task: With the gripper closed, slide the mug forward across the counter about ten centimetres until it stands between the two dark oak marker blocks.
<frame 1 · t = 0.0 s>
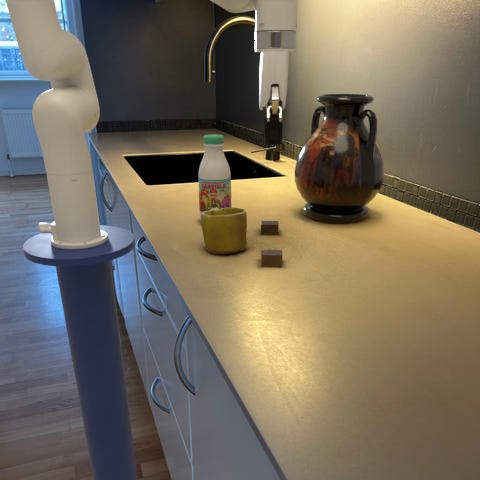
hand: (272, 140, 102), 21 cm above the worktop, tool pointing down, fingers open, 9 cm apart
marker 2: (271, 264, 99), on the worktop
milk bottle: (215, 222, 125), on the worktop
marker 1: (269, 232, 117), on the worktop
amphora vase: (335, 216, 130), on the worktop
mug: (223, 247, 108), on the worktop
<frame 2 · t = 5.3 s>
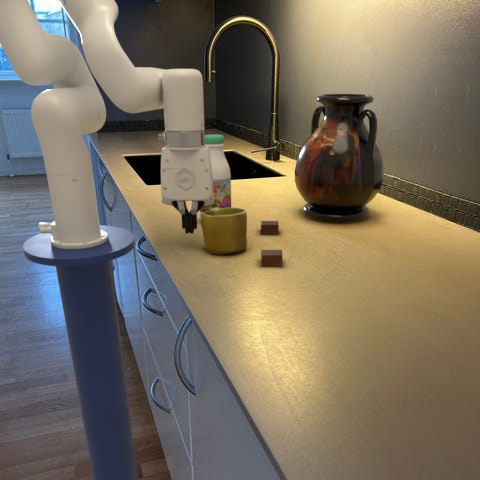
hand: (189, 231, 107), 3 cm above the worktop, tool pointing down, fingers closed
mug: (223, 247, 108), on the worktop, touching gripper
everything else where it was.
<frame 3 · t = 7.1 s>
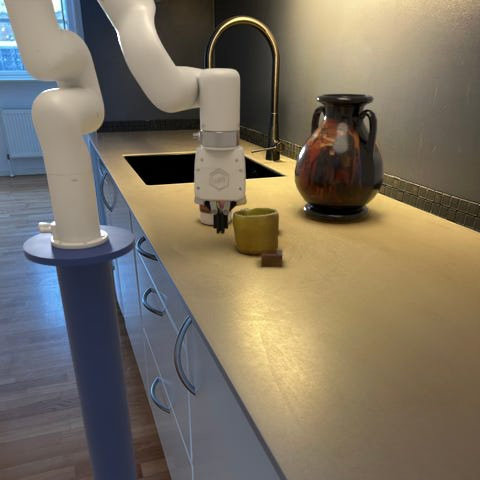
hand: (220, 231, 107), 3 cm above the worktop, tool pointing down, fingers closed
mug: (253, 247, 108), on the worktop, touching gripper
everything else where it was.
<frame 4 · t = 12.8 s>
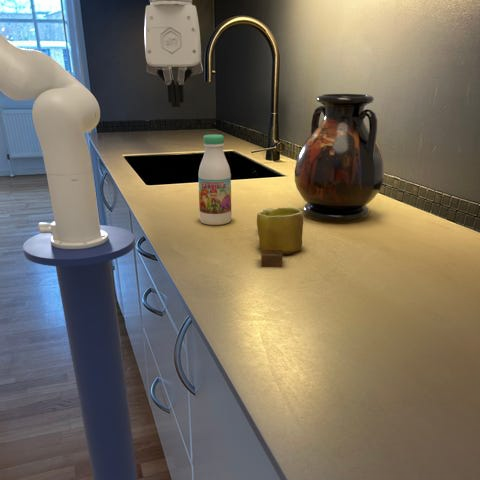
hand: (176, 106, 101), 27 cm above the worktop, tool pointing down, fingers closed
mug: (277, 248, 108), on the worktop
everything else where it was.
at the end: mug inside the target area (0.6 cm from its centre), on the worktop; mug tilted 0°; mug moved 11.4 cm from its start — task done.
